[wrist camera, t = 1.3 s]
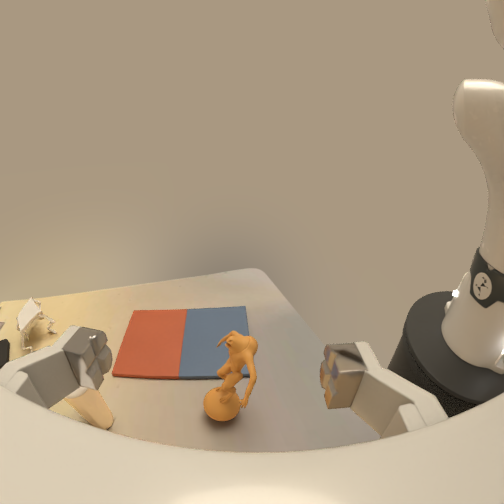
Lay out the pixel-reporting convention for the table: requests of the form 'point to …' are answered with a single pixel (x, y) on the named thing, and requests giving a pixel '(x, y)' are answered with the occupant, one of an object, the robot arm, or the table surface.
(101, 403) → the milkshake
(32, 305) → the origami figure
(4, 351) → the phone
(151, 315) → the sorting board
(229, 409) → the figurine
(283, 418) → the table surface
